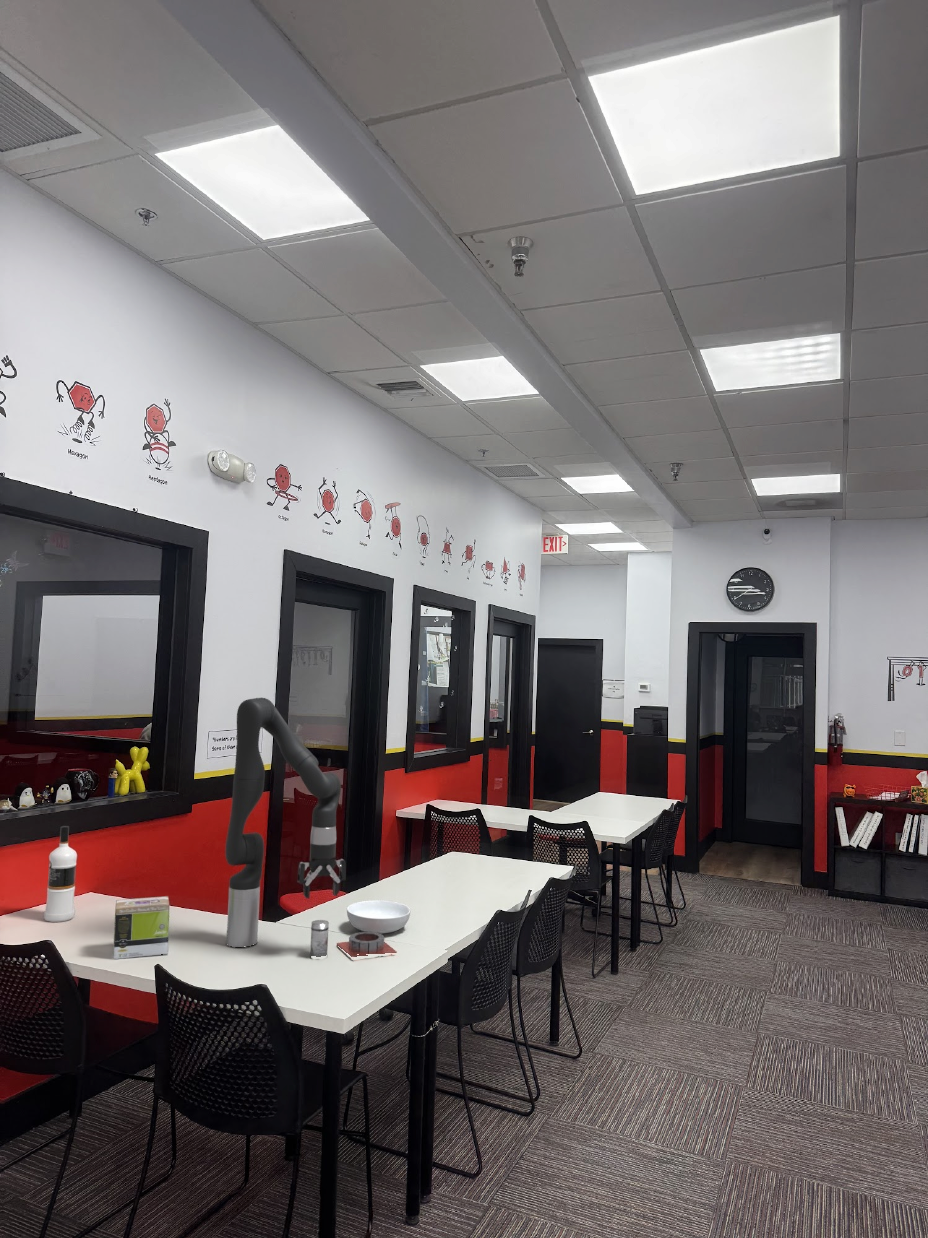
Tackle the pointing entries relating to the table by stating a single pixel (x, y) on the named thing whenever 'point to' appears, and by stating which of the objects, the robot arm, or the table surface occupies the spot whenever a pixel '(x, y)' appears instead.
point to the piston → (319, 938)
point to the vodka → (61, 881)
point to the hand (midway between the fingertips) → (321, 896)
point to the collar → (366, 944)
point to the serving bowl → (378, 916)
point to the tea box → (141, 927)
